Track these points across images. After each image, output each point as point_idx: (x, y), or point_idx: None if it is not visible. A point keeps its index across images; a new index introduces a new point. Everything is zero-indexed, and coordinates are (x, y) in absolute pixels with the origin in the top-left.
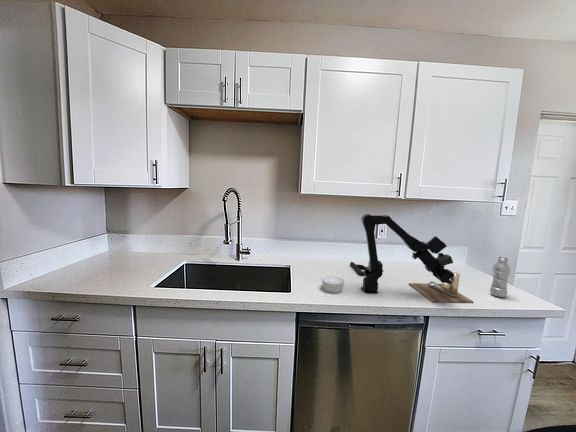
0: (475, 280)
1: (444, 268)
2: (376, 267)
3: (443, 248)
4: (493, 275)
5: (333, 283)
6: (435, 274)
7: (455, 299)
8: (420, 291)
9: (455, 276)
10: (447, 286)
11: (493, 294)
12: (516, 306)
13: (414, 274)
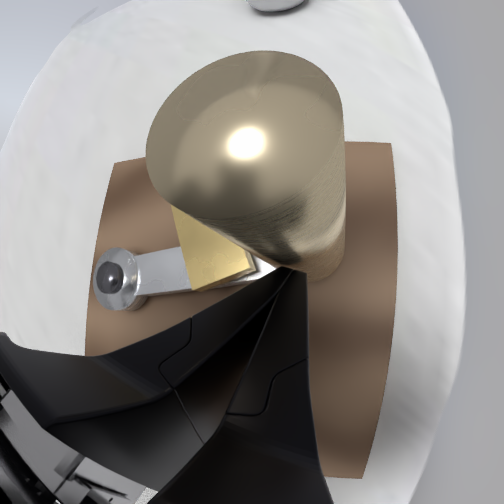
0: (137, 25)
1: (24, 405)
2: None
3: None
4: None
5: None
6: (143, 490)
7: (364, 266)
8: None
9: (332, 188)
10: (207, 227)
11: (281, 8)
12: (382, 5)
13: (21, 244)
